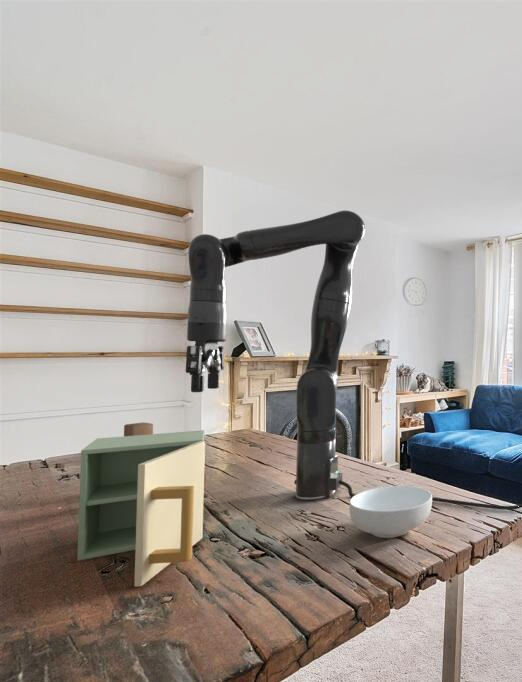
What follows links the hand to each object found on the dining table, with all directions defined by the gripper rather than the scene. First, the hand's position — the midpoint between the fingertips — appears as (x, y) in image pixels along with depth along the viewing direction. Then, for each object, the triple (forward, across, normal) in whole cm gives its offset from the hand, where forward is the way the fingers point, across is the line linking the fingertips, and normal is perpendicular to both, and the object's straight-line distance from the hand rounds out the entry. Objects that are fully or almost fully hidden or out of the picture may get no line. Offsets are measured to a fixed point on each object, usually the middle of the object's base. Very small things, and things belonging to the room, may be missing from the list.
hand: (205, 390), depth 100 cm
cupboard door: (+28, +26, +8) cm, 39 cm away
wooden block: (+28, -19, -20) cm, 40 cm away
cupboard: (+28, +13, -4) cm, 31 cm away
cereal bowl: (+28, +21, +43) cm, 56 cm away
